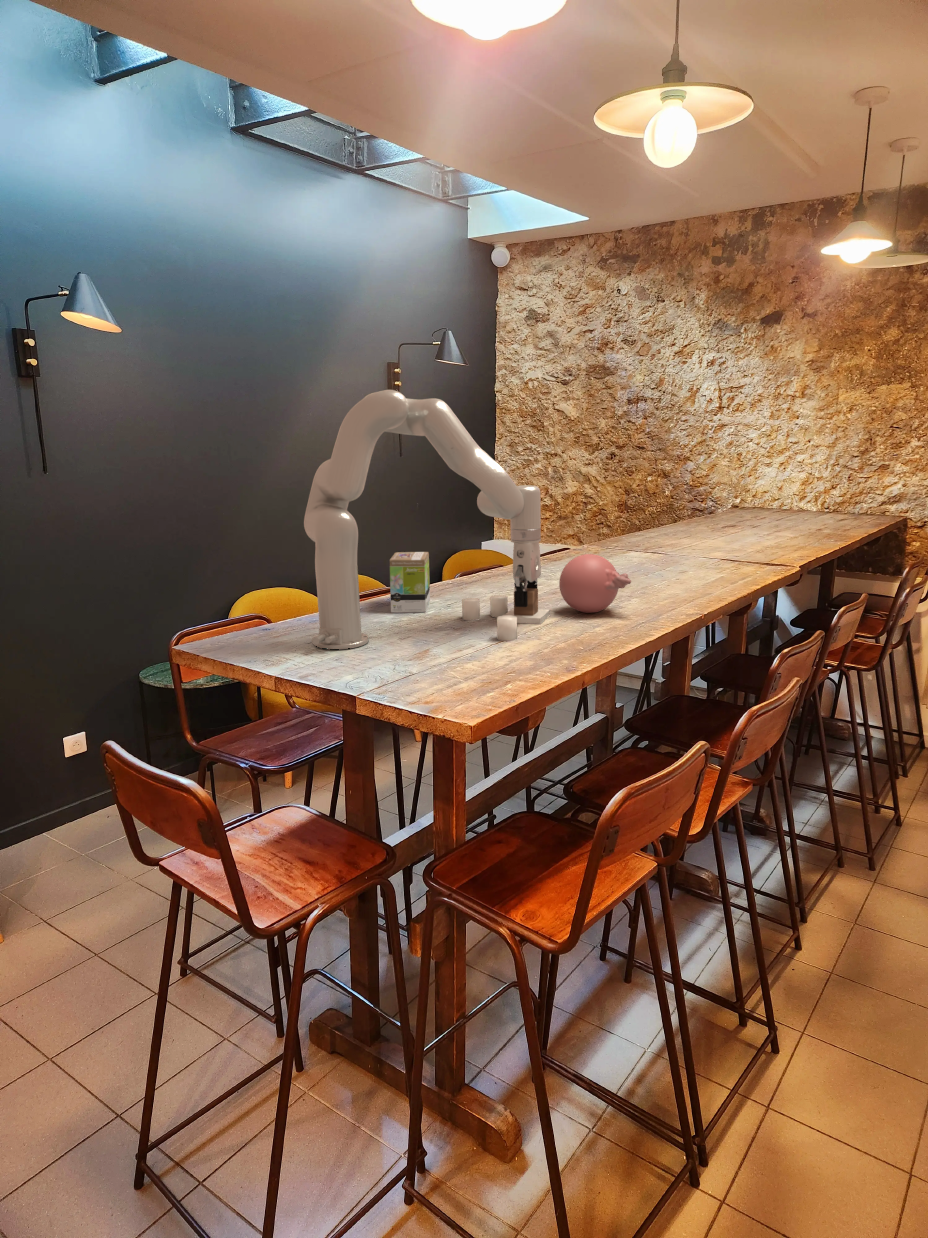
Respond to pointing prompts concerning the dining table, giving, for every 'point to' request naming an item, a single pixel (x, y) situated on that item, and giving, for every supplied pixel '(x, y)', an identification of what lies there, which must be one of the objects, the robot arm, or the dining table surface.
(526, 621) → the stone coaster
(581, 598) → the pink balloon
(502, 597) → the white cylinder
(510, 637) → the cup
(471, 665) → the dining table surface
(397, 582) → the tea box
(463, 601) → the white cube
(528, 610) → the walnut block
